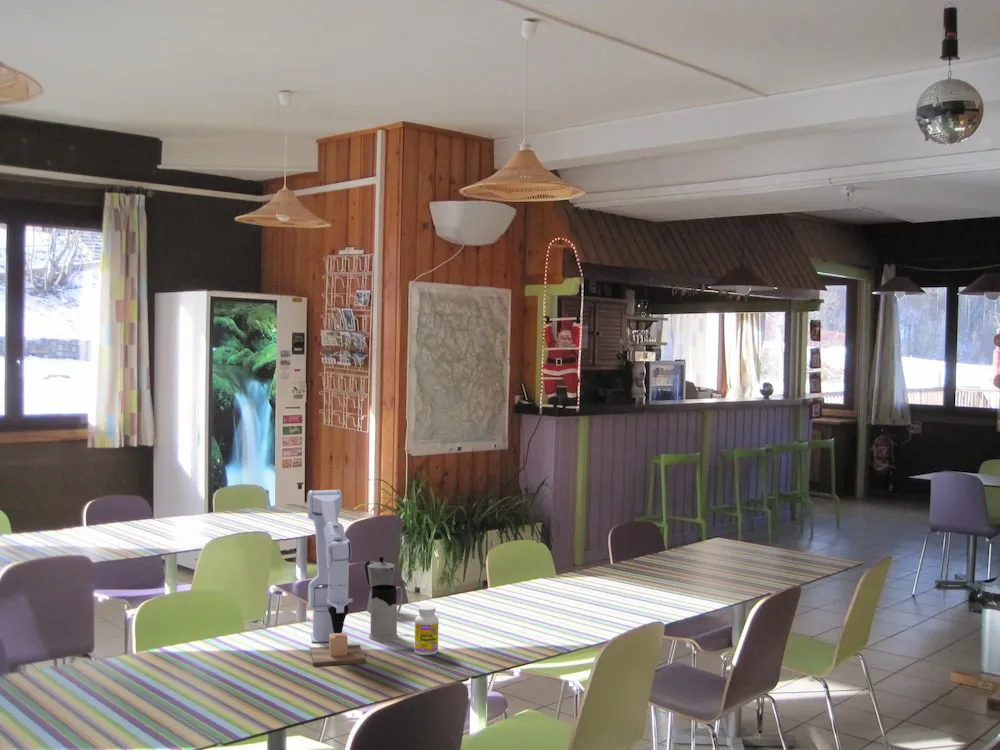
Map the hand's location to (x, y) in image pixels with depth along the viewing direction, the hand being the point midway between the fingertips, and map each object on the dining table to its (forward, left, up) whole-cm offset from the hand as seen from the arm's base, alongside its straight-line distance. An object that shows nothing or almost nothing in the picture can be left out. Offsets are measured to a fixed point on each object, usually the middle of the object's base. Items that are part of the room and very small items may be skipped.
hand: (337, 632), depth 270 cm
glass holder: (-19, +17, -7) cm, 26 cm away
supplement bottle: (+1, +25, -7) cm, 26 cm away
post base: (0, 0, -7) cm, 7 cm away
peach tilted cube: (0, 0, -6) cm, 6 cm away
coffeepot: (-50, +18, -7) cm, 54 cm away
